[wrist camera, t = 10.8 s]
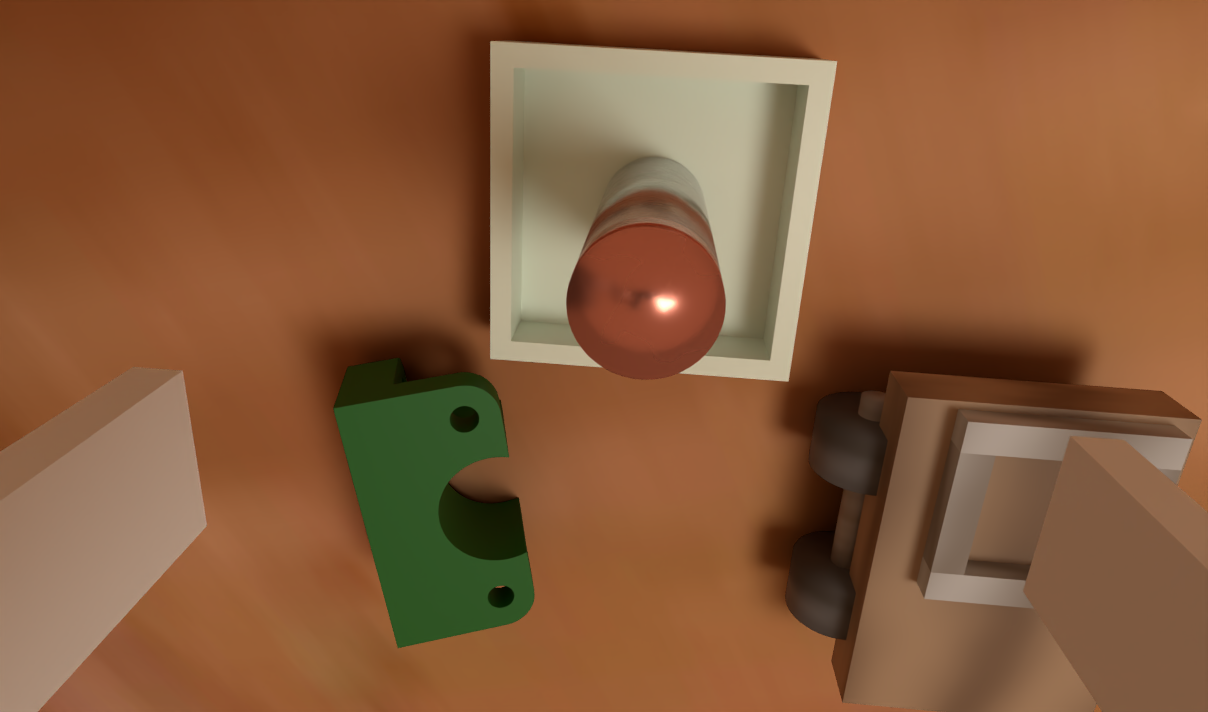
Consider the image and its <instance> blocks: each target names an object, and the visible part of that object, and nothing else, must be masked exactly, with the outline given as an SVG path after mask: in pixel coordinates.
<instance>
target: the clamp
mask: <svg viewBox="0 0 1208 712" xmlns="http://www.w3.org/2000/svg"><path fill="white" fill-rule="evenodd" d="M333 409H334V413H335V417H336V421H337V424H338V428H339V432H340V435H341V439H342V443H343V446H344V450H345V454H346V458H347V461H348V465H349V469H350V472H351V476H352V480H353V484H354V487H355V491H356V495H357V498H358V502H359V506H360V509H361V513H362V517H363V521H364V524H365V528H366V532H367V535H368V539H369V543H370V546H371V550H372V554H373V558H374V561H375V565H376V569H377V572H378V576H379V580H380V583H381V587H382V591H383V595H384V598H385V602H386V606H387V609H388V613H389V617H390V620H391V624H392V628H393V632H394V635H395V639H396V643H397V646H398V648H401V647H405V646H410V645H414V644H419V643H424V642H428V641H433V640H438V639H442V638H447V637H451V636H456V635H461V634H465V633H470V632H474V631H479V630H484V629H488V628H493V627H498V626H502V625H507V624H510V623H513V622H516V621H517V620H519V619H521V618H522V617H523V616H525V615H526V614H527V613H528V611H529V610H530V608H531V607H532V604H533V602H534V587H533V581H532V574H531V568H530V563H529V558H528V552H527V547H526V541H525V534H524V527H523V521H522V514H521V507H520V502H519V498H516V499H513V500H509V501H506V502H501V503H493V504H490V503H480V502H475V501H472V500H469V499H467V498H465V497H463V496H461V495H460V494H458V493H457V492H456V491H455V490H454V489H453V488H452V487H451V486H450V485H449V484H448V482H449V481H450V480H451V478H452V477H453V476H454V475H455V474H457V473H458V472H459V471H460V470H462V469H463V468H464V467H466V466H468V465H470V464H472V463H474V462H476V461H479V460H482V459H487V458H492V457H509V453H508V446H507V439H506V432H505V425H504V418H503V411H502V405H501V400H499V397H498V394H497V391H496V390H495V388H494V386H493V385H492V384H491V383H490V382H489V381H488V380H487V379H485V378H484V377H482V376H480V375H477V374H474V373H468V372H461V373H454V374H448V375H443V376H437V377H432V378H426V379H420V380H415V381H409V382H407V380H406V375H405V371H404V367H403V364H402V362H401V359H400V358H394V359H389V360H383V361H377V362H371V363H366V364H360V365H354V366H349V367H348V368H347V370H346V373H345V376H344V379H343V382H342V385H341V388H340V391H339V393H338V396H337V399H336V402H335V405H334V408H333ZM497 586H505V587H502V588H495V587H497Z"/></svg>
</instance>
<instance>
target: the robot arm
mask: <svg viewBox="0 0 1208 712" xmlns="http://www.w3.org/2000/svg"><path fill="white" fill-rule="evenodd" d="M206 526H207V523H206V517H205V510H204V504H203V498H202V491H201V485H200V479H199V472H198V466H197V459H196V453H195V447H194V440H193V434H192V428H191V421H190V415H189V408H188V402H187V396H186V389H185V383H184V376H183V371H180V370H166V369H153V368H139V367H132V368H131V369H129V370H127V371H126V372H124V373H123V374H121V375H120V376H118V377H117V378H115V379H113V380H112V381H110V382H109V383H107V384H106V385H104V386H102V387H101V388H99V389H98V390H96V391H95V392H93V393H91V394H90V395H88V396H87V397H85V398H84V399H82V400H81V401H79V402H77V403H76V404H74V405H73V406H71V407H70V408H68V409H66V410H65V411H63V412H62V413H60V414H59V415H57V416H56V417H54V418H52V419H51V420H49V421H48V422H46V423H45V424H43V425H41V426H40V427H38V428H37V429H35V430H34V431H32V432H30V433H29V434H27V435H26V436H24V437H23V438H21V439H20V440H18V441H16V442H15V443H13V444H12V445H10V446H9V447H7V448H5V449H4V450H2V451H1V452H0V712H38V711H39V710H40V709H41V708H42V706H43V705H44V704H45V703H46V702H47V701H48V700H49V699H50V698H51V697H52V695H53V694H54V693H55V692H56V691H57V690H58V689H59V688H60V687H61V686H62V684H63V683H64V682H65V681H66V680H67V679H68V678H69V677H70V676H71V675H72V673H73V672H74V671H75V670H76V669H77V668H78V667H79V666H80V665H81V664H82V662H83V661H84V660H85V659H86V658H87V657H88V656H89V655H90V654H91V653H92V651H93V650H94V649H95V648H96V647H97V646H98V645H99V644H100V643H101V642H102V640H103V639H104V638H105V637H106V636H107V635H108V634H109V633H110V632H111V631H112V630H113V628H114V627H115V626H116V625H117V624H118V623H119V622H120V621H121V620H122V619H123V617H124V616H125V615H126V614H127V613H128V612H129V611H130V610H131V609H132V608H133V606H134V605H135V604H136V603H137V602H138V601H139V600H140V599H141V598H142V597H143V595H144V594H145V593H146V592H147V591H148V590H149V589H150V588H151V587H152V586H153V584H154V583H155V582H156V581H157V580H158V579H159V578H160V577H161V576H162V575H163V573H164V572H165V571H166V570H167V569H168V568H169V567H170V566H171V565H172V564H173V562H174V561H175V560H176V559H177V558H178V557H179V556H180V555H181V554H182V553H183V551H184V550H185V549H186V548H187V547H188V546H189V545H190V544H191V543H192V542H193V540H194V539H195V538H196V537H197V536H198V535H199V534H200V533H201V532H202V531H203V530H204V528H205V527H206ZM1023 592H1024V594H1025V595H1026V597H1027V598H1028V600H1029V601H1030V603H1031V604H1032V606H1033V607H1034V609H1035V610H1036V612H1037V613H1038V615H1039V616H1040V618H1041V620H1042V621H1043V623H1044V624H1045V626H1046V627H1047V629H1048V630H1049V632H1050V633H1051V635H1052V636H1053V638H1054V639H1055V641H1056V642H1057V644H1058V645H1059V647H1060V648H1061V650H1062V651H1063V653H1064V654H1065V656H1066V657H1067V659H1068V661H1069V662H1070V664H1071V665H1072V667H1073V668H1074V670H1075V671H1076V673H1077V674H1078V676H1079V677H1080V679H1081V680H1082V682H1083V683H1084V685H1085V686H1086V688H1087V689H1088V691H1089V692H1090V694H1091V695H1092V697H1093V698H1094V700H1095V701H1096V703H1097V705H1098V706H1099V708H1100V709H1101V711H1102V712H1208V512H1207V511H1206V510H1205V509H1203V508H1202V507H1201V506H1200V505H1199V504H1198V503H1197V502H1195V501H1194V500H1193V499H1192V498H1191V497H1190V496H1188V495H1187V494H1186V493H1185V492H1184V491H1183V490H1182V489H1180V488H1179V487H1178V486H1177V485H1176V484H1175V483H1173V482H1172V481H1171V480H1170V479H1169V478H1168V477H1167V476H1165V475H1164V474H1163V473H1162V472H1161V471H1160V470H1158V469H1157V468H1156V467H1155V466H1154V465H1153V464H1152V463H1150V462H1149V461H1148V460H1147V459H1146V458H1145V457H1143V456H1142V455H1141V454H1140V453H1139V452H1138V451H1137V450H1135V449H1134V448H1133V447H1132V446H1131V445H1130V444H1128V443H1127V442H1126V441H1125V440H1120V439H1107V438H1093V437H1080V436H1070V438H1069V441H1068V445H1067V448H1066V451H1065V455H1064V458H1063V461H1062V464H1061V468H1060V471H1059V474H1058V478H1057V481H1056V484H1055V487H1054V491H1053V494H1052V497H1051V501H1050V504H1049V507H1048V510H1047V514H1046V517H1045V520H1044V524H1043V527H1042V530H1041V533H1040V537H1039V540H1038V543H1037V547H1036V550H1035V553H1034V556H1033V560H1032V563H1031V566H1030V569H1029V573H1028V576H1027V579H1026V583H1025V586H1024V589H1023Z"/></svg>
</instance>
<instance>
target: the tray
mask: <svg viewBox="0 0 1208 712" xmlns="http://www.w3.org/2000/svg"><path fill="white" fill-rule="evenodd" d="M836 66H837V61H832V60H826V59H817V58H799V57H782V56H765V55H748V54H730V53H713V52H696V51H679V50H662V49H644V48H627V47H610V46H593V45H575V44H558V43H541V42H524V41H490V359H500V360H513V361H526V362H539V363H552V364H565V365H578V366H592V367H602V366H600V365H599V364H597V363H596V362H595V361H594V360H592V359H591V358H590V357H589V356H588V355H587V354H586V353H585V352H584V350H583V349H582V348H581V347H580V345H579V344H578V342H577V341H576V339H575V337H574V335H573V333H572V331H571V328H570V325H569V322H568V317H567V309H566V298H567V290H568V285H569V282H570V279H571V276H572V273H573V271H574V268H575V266H576V263H577V261H578V258H579V256H580V253H581V251H582V248H583V245H584V243H585V240H586V238H587V235H588V233H589V230H590V228H591V225H592V223H593V220H594V217H595V215H596V212H597V210H598V207H599V205H600V202H601V200H602V197H603V195H604V192H605V189H606V187H607V185H608V183H609V181H610V180H611V178H612V177H613V176H614V175H615V174H616V172H617V171H618V170H620V169H621V168H622V167H623V166H625V165H626V164H628V163H630V162H632V161H634V160H637V159H640V158H644V157H655V156H656V157H664V158H668V159H671V160H674V161H676V162H678V163H680V164H682V165H683V166H684V167H686V168H687V169H688V170H689V171H690V172H691V173H692V174H693V175H694V177H695V178H696V179H697V181H698V183H699V184H700V187H701V189H702V192H703V195H704V200H705V204H706V209H707V213H708V218H709V222H710V227H711V231H712V236H713V240H714V245H715V249H716V254H717V258H718V263H719V267H720V272H721V276H722V281H723V285H724V290H725V297H726V311H725V318H724V322H723V326H722V329H721V331H720V333H719V336H718V338H717V340H716V341H715V343H714V344H713V346H712V347H711V349H710V350H709V351H708V352H707V353H706V355H705V356H704V357H702V358H701V359H700V360H699V361H698V362H697V363H695V364H694V365H692V366H691V367H690V368H688V369H686V370H684V371H682V372H680V373H683V374H697V375H710V376H723V377H736V378H749V379H762V380H775V381H789V375H790V368H791V362H792V355H793V348H794V342H795V335H796V329H797V322H798V316H799V309H800V302H801V296H802V289H803V283H804V276H805V269H806V263H807V256H808V250H809V243H810V237H811V230H812V223H813V217H814V210H815V204H816V197H817V191H818V184H819V177H820V171H821V164H822V158H823V151H824V145H825V138H826V131H827V125H828V118H829V112H830V105H831V99H832V92H833V85H834V79H835V72H836Z"/></svg>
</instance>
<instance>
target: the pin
mask: <svg viewBox="0 0 1208 712" xmlns="http://www.w3.org/2000/svg"><path fill="white" fill-rule="evenodd" d="M566 309H567V317H568V322H569V325H570V328H571V331H572V333H573V335H574V337H575V339H576V341H577V342H578V344H579V345H580V347H581V348H582V349H583V350H584V352H585V353H586V354H587V355H588V356H589V357H590V358H591V359H592V360H594V361H595V362H596V363H597V364H599V365H600V366H602V367H603V368H605V369H607V370H609V371H611V372H613V373H615V374H618V375H621V376H624V377H628V378H633V379H659V378H665V377H668V376H672V375H675V374H677V373H680V372H682V371H684V370H686V369H688V368H690V367H691V366H692V365H694V364H695V363H697V362H698V361H699V360H700V359H701V358H702V357H704V356H705V355H706V353H707V352H708V351H709V350H710V349H711V347H712V346H713V344H714V343H715V341H716V340H717V338H718V336H719V333H720V331H721V329H722V326H723V322H724V318H725V311H726V297H725V290H724V285H723V281H722V276H721V272H720V267H719V263H718V258H717V254H716V249H715V245H714V240H713V236H712V231H711V227H710V222H709V218H708V213H707V209H706V204H705V200H704V195H703V192H702V189H701V187H700V184H699V183H698V181H697V179H696V178H695V177H694V175H693V174H692V173H691V172H690V171H689V170H688V169H687V168H686V167H684V166H683V165H682V164H680V163H678V162H676V161H674V160H671V159H668V158H664V157H656V156H655V157H644V158H640V159H637V160H634V161H632V162H630V163H628V164H626V165H625V166H623V167H622V168H621V169H620V170H618V171H617V172H616V174H615V175H614V176H613V177H612V178H611V180H610V181H609V183H608V185H607V187H606V189H605V192H604V195H603V197H602V200H601V202H600V205H599V207H598V210H597V212H596V215H595V217H594V220H593V223H592V225H591V228H590V230H589V233H588V235H587V238H586V240H585V243H584V245H583V248H582V251H581V253H580V256H579V258H578V261H577V263H576V266H575V268H574V271H573V273H572V276H571V279H570V282H569V285H568V290H567V298H566Z"/></svg>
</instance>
